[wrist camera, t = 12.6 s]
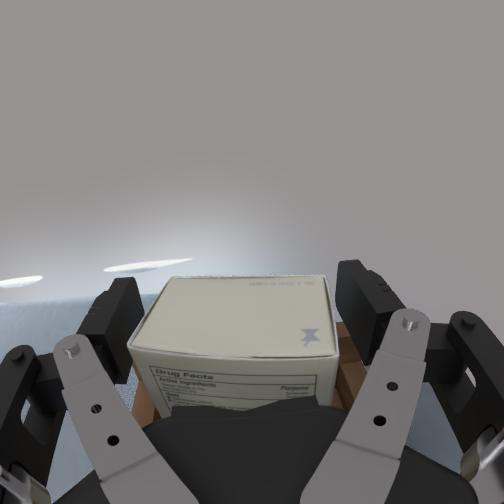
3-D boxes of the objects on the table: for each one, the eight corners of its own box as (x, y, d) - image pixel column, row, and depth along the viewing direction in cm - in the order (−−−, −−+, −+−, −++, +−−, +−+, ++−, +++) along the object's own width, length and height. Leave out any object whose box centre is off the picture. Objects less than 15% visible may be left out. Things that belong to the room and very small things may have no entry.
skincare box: (312, 440, 16) (334, 271, 11) (310, 501, 12) (349, 356, 7) (213, 434, 17) (170, 270, 12) (198, 492, 13) (121, 344, 8)
